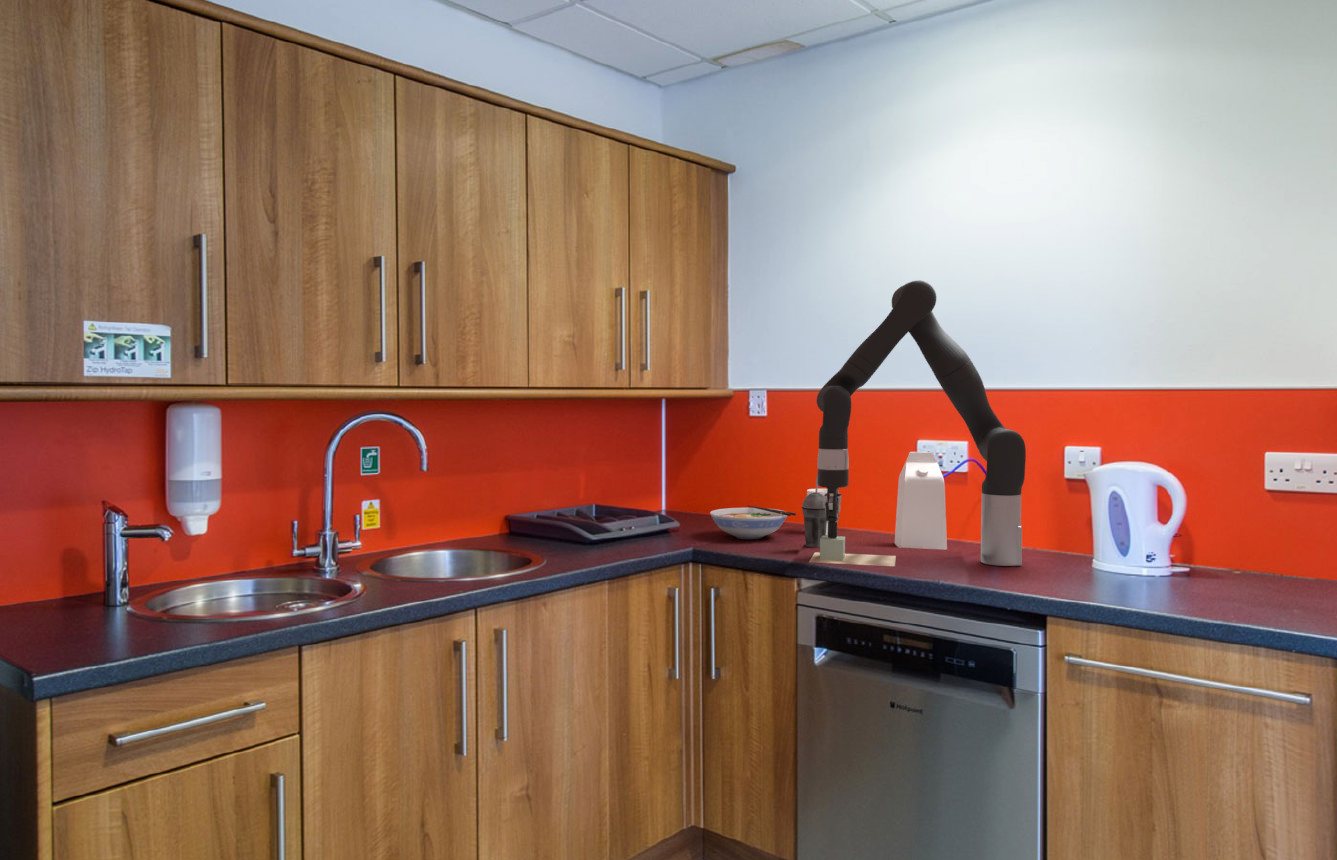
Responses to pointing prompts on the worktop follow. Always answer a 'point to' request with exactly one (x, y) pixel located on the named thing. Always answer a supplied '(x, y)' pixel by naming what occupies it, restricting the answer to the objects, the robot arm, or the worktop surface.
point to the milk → (921, 504)
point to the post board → (859, 559)
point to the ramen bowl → (749, 521)
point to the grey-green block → (832, 548)
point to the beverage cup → (814, 518)
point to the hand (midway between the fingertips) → (832, 537)
